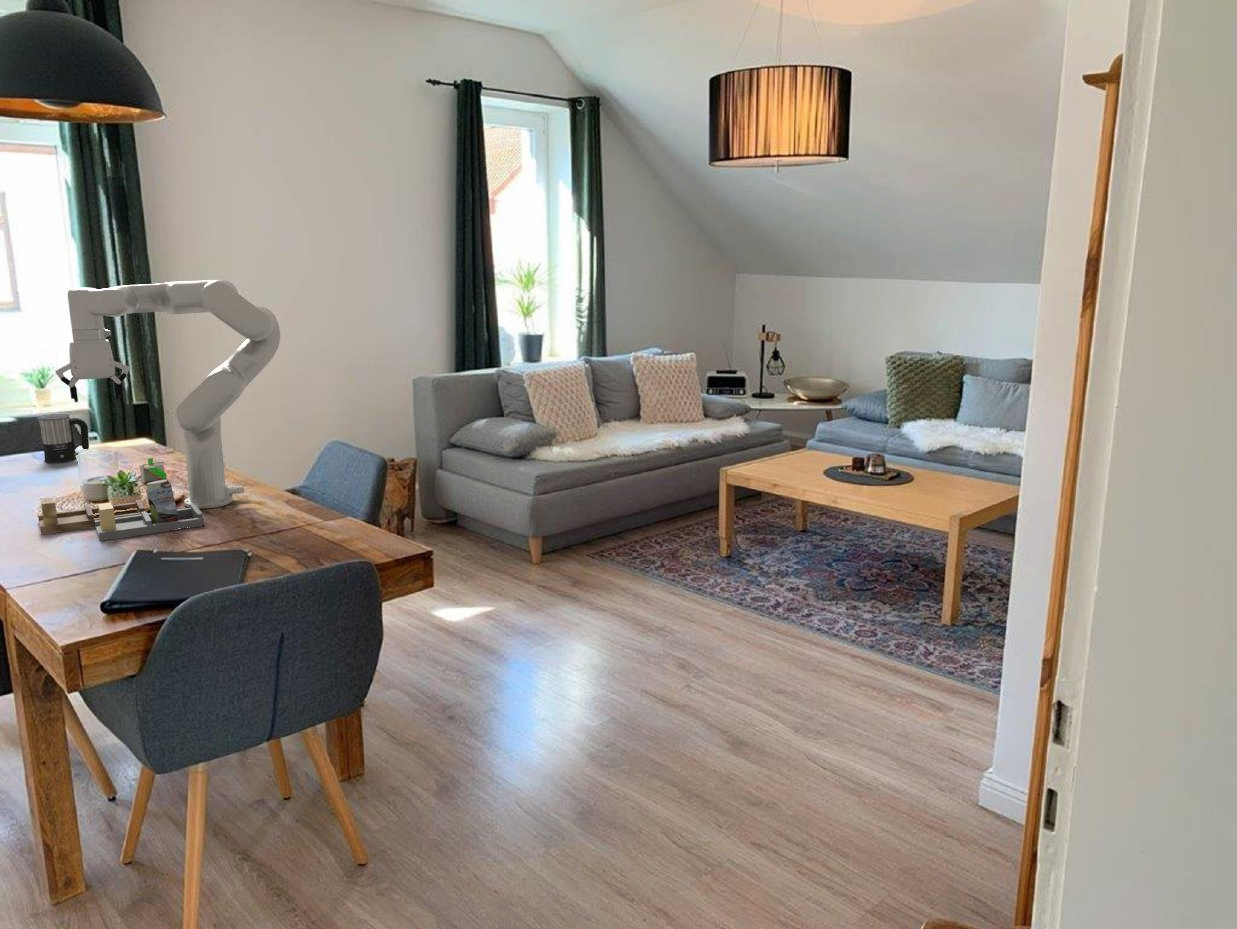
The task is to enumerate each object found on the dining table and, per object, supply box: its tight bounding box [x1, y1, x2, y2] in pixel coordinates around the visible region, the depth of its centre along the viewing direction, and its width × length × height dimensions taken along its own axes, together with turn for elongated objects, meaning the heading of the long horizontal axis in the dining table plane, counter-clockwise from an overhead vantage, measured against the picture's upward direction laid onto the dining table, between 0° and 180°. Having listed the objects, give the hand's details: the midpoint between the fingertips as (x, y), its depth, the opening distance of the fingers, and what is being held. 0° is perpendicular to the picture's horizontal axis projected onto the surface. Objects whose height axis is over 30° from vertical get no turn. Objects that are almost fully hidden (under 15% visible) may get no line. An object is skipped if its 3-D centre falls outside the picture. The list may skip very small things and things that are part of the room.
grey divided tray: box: [94, 502, 205, 542], centre depth 244 cm, size 24×12×7 cm, turn 123°
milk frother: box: [37, 413, 90, 464], centre depth 316 cm, size 14×16×15 cm
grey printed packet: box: [145, 479, 180, 524], centre depth 245 cm, size 6×7×12 cm
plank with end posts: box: [37, 496, 146, 535], centre depth 248 cm, size 24×12×7 cm, turn 123°
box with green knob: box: [139, 457, 168, 484], centre depth 288 cm, size 4×7×8 cm, turn 136°
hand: (96, 399), depth 253 cm, fingers open, 9 cm apart
